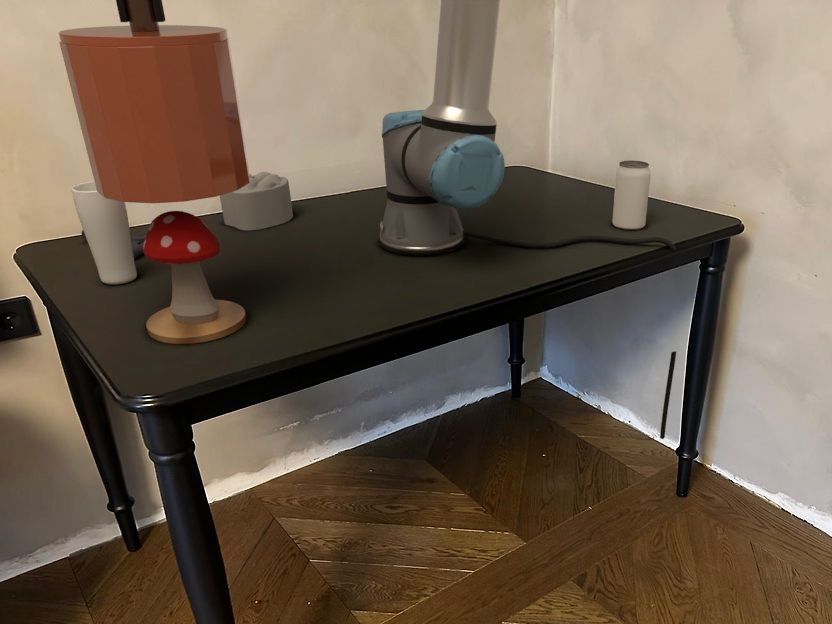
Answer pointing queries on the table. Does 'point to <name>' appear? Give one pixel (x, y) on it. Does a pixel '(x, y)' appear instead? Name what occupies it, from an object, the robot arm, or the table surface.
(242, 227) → the lumpy-topped squat cylinder
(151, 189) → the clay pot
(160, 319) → the round golden metal disc
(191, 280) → the decorative mushroom
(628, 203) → the can
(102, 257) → the drinking glass
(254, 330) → the table surface
